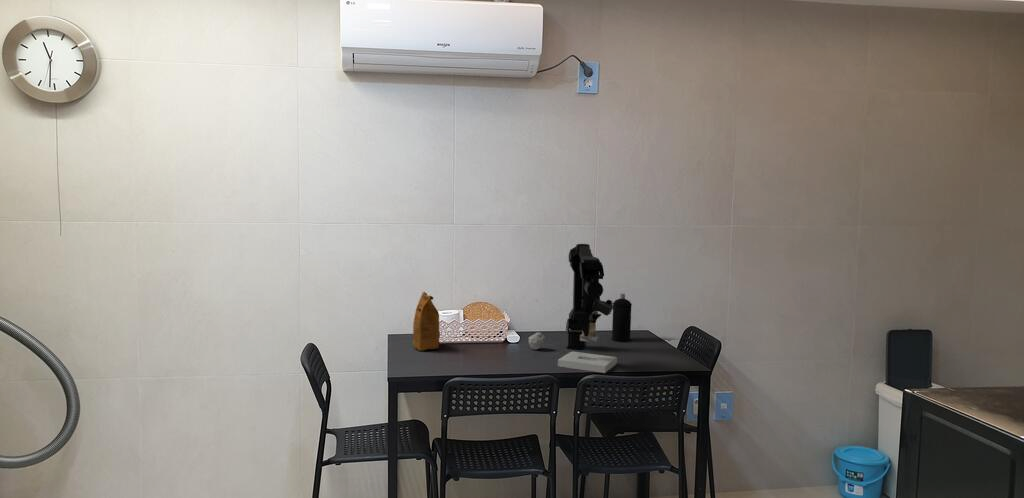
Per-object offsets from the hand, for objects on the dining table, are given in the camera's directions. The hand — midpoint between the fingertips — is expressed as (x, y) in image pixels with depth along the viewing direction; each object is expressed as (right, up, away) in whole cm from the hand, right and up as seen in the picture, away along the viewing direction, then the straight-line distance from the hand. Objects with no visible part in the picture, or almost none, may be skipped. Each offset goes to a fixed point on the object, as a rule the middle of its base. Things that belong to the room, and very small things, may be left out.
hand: (588, 334), depth 264 cm
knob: (0, -2, 0) cm, 2 cm away
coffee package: (-63, -8, +23) cm, 67 cm away
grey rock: (-19, -9, +23) cm, 31 cm away
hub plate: (0, -11, +1) cm, 11 cm away
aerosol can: (+18, -7, +42) cm, 46 cm away
